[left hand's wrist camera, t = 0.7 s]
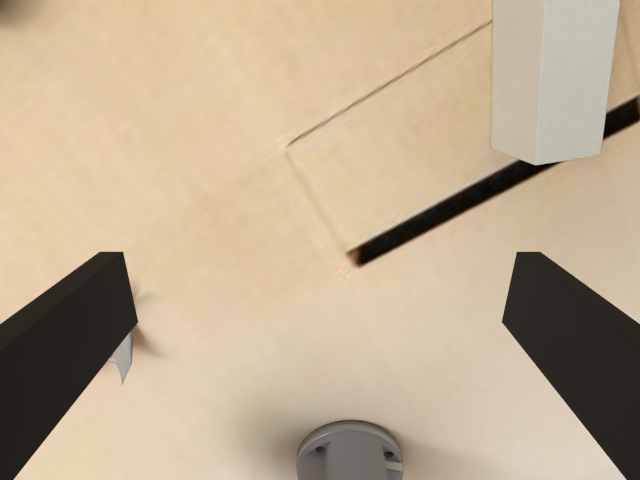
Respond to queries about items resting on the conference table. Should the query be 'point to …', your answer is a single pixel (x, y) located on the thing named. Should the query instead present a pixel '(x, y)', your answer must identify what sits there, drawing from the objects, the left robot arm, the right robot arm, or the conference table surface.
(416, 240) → the conference table surface
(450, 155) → the conference table surface
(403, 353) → the conference table surface
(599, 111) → the bar
